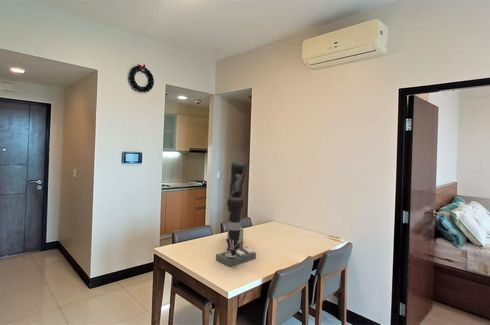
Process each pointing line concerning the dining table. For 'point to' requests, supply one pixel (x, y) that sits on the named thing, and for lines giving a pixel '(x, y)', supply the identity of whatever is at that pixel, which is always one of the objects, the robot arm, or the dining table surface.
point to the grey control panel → (234, 258)
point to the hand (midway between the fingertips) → (233, 255)
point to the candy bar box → (239, 239)
